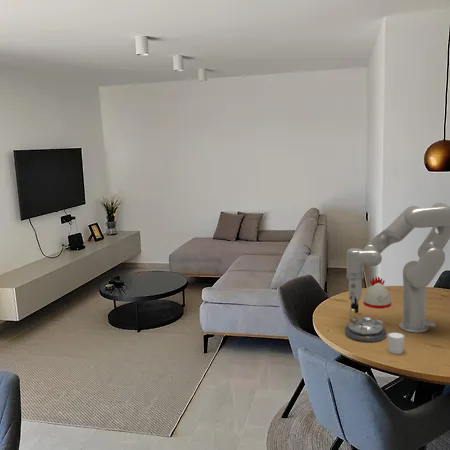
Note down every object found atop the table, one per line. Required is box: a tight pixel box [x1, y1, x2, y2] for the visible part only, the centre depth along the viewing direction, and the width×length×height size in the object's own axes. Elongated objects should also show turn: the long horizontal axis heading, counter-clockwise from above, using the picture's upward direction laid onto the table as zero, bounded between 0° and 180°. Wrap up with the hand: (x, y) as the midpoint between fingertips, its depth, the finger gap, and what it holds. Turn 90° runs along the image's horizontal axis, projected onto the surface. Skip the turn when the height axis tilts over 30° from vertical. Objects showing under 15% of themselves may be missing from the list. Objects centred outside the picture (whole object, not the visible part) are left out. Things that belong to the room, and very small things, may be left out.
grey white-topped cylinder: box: [386, 332, 406, 355], centre depth 202 cm, size 7×7×7 cm
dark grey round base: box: [344, 324, 387, 344], centre depth 220 cm, size 18×18×2 cm
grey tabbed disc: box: [348, 307, 384, 336], centre depth 219 cm, size 15×15×9 cm
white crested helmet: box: [363, 276, 392, 309], centre depth 258 cm, size 14×14×15 cm
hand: (354, 312), depth 228 cm, fingers closed
